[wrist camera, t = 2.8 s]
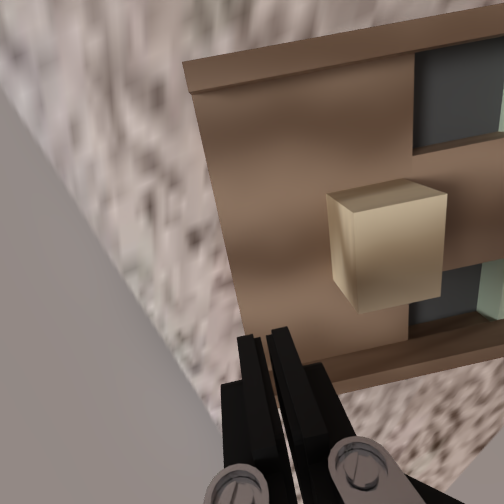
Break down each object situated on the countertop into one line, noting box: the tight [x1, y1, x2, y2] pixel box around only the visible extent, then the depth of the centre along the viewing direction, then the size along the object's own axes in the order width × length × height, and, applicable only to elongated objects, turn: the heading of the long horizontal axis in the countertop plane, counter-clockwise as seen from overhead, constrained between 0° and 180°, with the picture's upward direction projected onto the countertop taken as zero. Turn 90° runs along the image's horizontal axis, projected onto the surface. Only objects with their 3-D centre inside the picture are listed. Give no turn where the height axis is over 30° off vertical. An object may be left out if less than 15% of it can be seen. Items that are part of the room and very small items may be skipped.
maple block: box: [326, 178, 447, 314], centre depth 16 cm, size 5×4×4 cm
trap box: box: [182, 3, 504, 408], centre depth 18 cm, size 18×22×4 cm
